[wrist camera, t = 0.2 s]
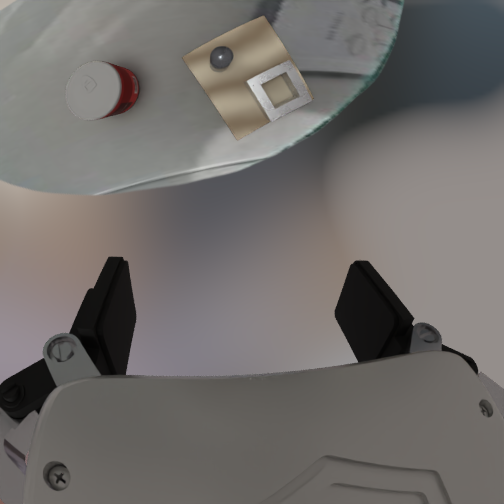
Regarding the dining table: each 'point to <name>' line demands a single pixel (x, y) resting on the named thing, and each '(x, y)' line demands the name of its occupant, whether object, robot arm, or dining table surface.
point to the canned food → (100, 90)
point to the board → (243, 74)
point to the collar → (291, 81)
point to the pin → (220, 58)
